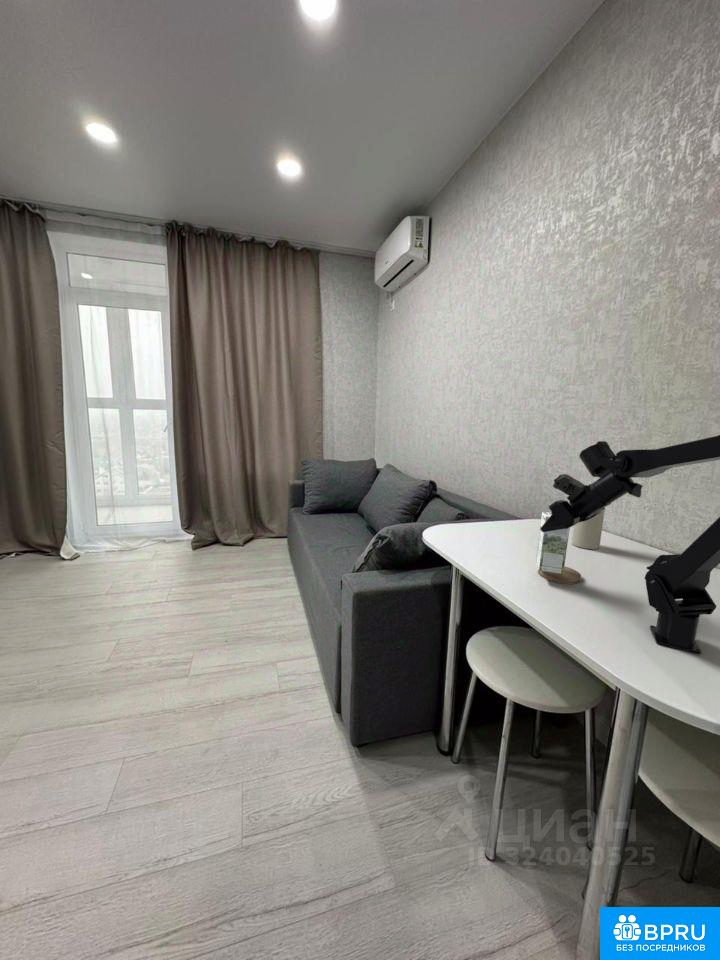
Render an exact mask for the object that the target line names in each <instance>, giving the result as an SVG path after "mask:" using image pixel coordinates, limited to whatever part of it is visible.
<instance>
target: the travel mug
mask: <svg viewBox="0 0 720 960" xmlns="http://www.w3.org/2000/svg"><path fill="white" fill-rule="evenodd" d="M605 511H606V507H604V508H602V509H601V514H599V515H597V516H596V517H594V518H592V519H589V520H587V521H583V522H579V523H577V524H576V525H574V526H572V527H573V529H572V537H571V544H572V545H574V546H575V547H576V548H581V549H585V550H597V549H600V545H601V539H602V533H603V532H602V531H603V527H604V526H603V525H604V518H605V517H604V516H605ZM589 518H590V517H589Z"/></svg>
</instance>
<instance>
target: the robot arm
mask: <svg viewBox="0 0 720 960" xmlns="http://www.w3.org/2000/svg"><path fill="white" fill-rule="evenodd" d="M578 456H579V457H578V458H579V459H580V461H581V462H582V464H583V465H584V467H585V468H586V470H588V473H589V474H590V475H591V476H592V477H594V478H598V479H597V480H595V481H593V482H592V483H590V484H584V483H582V482H581V481H580V480H577V479H576V478H574V477H573V476H571V475H569V474H567V473H566V474H565V473H563V474H559V475H558V477H556V478H555V479H554V480H553V484H552V487H553V489H554V488H555V489H556V490H558V491H560V492H562V493H563V494H565V495H568V496H567V497H566V500H564V499H560V500H555V501H553V502H552V503H551V504H549V506H548V508H549V510H550V511H551V513H552V515H551V516H550V518H549V519H548V520H547V521H546V522H545V523H544V525H543V526H542V527H541V528H540V527H539V530H540V529H541V531H542V532H548V531H553V530H560V529H568V528H570V529H571V528H572V527H574V525H576V524H577V523H579V522H583V521H587V520H589V519H592V518H594V517H596V516H597V515H599V514H601V509H602V508H604V507H605V508H606V507H608V506H610V505H612V503H614V502H615V501H616V500H618V499H620V498H622V497H623V496H625V495H626V494H629V495H630V496H633V497H636V498H638V499H639V498H641V497H642V488H643V484H640V483H638V482H635V481H634V480H633V479H632V478H639V479H640V478H651V477H654V476H658V475H660V474H663V473H665V472H666V471H667V470H670V469H673V468H678V467H684V466H689V465H697V464H702V463H709V462H713V461H714V462H715V461H719V460H720V434H719V435H715V436H709V437H706V438H701V439H696V440H692V441H688V442H687V441H686V442H683V443H679V444H674V445H673V444H672V445H670V446H665V447H660V448H653V449H649V448H648V449H646V448H645V449H624V450H620V451H617V452H616V453H615V452H614V451H613V450H612V449H611V447H610V445H609V443H608V442H607V441H605V440H602V441H599V440H598V441H597V442H596V443H595V444H593V445H589V446H587V447H585V449H583V450H582V451H580V453H579V454H578ZM589 517H590V518H589ZM719 564H720V516H719V517H718V518H717V519H715V520H714V521H713V522H712V524H711V525H709V526H708V527H707V528H706V530H704V531H703V532H702V533H701V534H700V535H699V536H698V537H696V539H695V540H694V541H693V542H692V543H691V544H690V545H689V546H687V548H685V550H684V551H682V552H681V553H678V554H675V553H673V554H660V555H659V556H658V557H657V558H656V559H655V561H654V562H653V563H652V564H651V565H649V566H646V570H648V571H646V572H645V576H644V580H645V585H646V586H645V588H646V594H647V598H648V605H649V607H652V608H653V609H654V610H655V611H656V612H658V614H657V620H656V625H652V624H651V625H649V629H650V632H651V634H652V636H653V638H654V641H655V643H657V645H662V646H664V647H665V646H666V647H671V648H674V649H678V650H683V651H686V652H690V653H695V654H699V655H700V654H702V649H701V648H700V647H699V646H700V645H699V644H698V643H697V641H696V638H697V632H698V628H699V627H698V626H699V621H700V618H701V617H700V616H701V615H709V616H710V615H712V614H713V612H714V611H715V610H716V609H717V605H716V603H715V602H714V600H713V598H712V596H711V595H710V594H709V592H708V591H707V589H706V587H707V586H708V585H709V584H710V580H711V579H710V577H711V572H712V571H713V569H715V568H716V567H717V566H718V565H719Z"/></svg>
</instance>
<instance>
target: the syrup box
mask: <svg viewBox="0 0 720 960" xmlns="http://www.w3.org/2000/svg"><path fill="white" fill-rule="evenodd" d="M551 515H552V512H546V511H542V512H541V519H540V527H539V534H538V535H539V537H538V543H537V550H536V559H535V565H536V568H537V571H538V570H539V571H540V572H546V573H553V574H560V575H563V573H564V566H565V564H566V559H567V557H566V556H567V549H568V542H569V536H570V529H571V527H570V528H568V529H560V530H553V531H548V532H542V531H541V529H540V528H541V527H542V526H543V525H544V523H545V522H546V521H547V520H548V519H549V518H550V516H551ZM565 567H566V566H565Z"/></svg>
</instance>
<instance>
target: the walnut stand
mask: <svg viewBox="0 0 720 960" xmlns="http://www.w3.org/2000/svg"><path fill="white" fill-rule="evenodd" d="M537 574H538V575H539V576H540V577H542V578H543V579H545V580H547V581H550V582H553V583H557V584H565V585H575V584H579V583H580V582H581V579H582V574H581V573H580V572H579V571H577V570H576V569H574V568H571V567H568V566H564V573H563V575H560V574H553V573H546V572H540V571H539V570H538V569H537Z"/></svg>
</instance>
